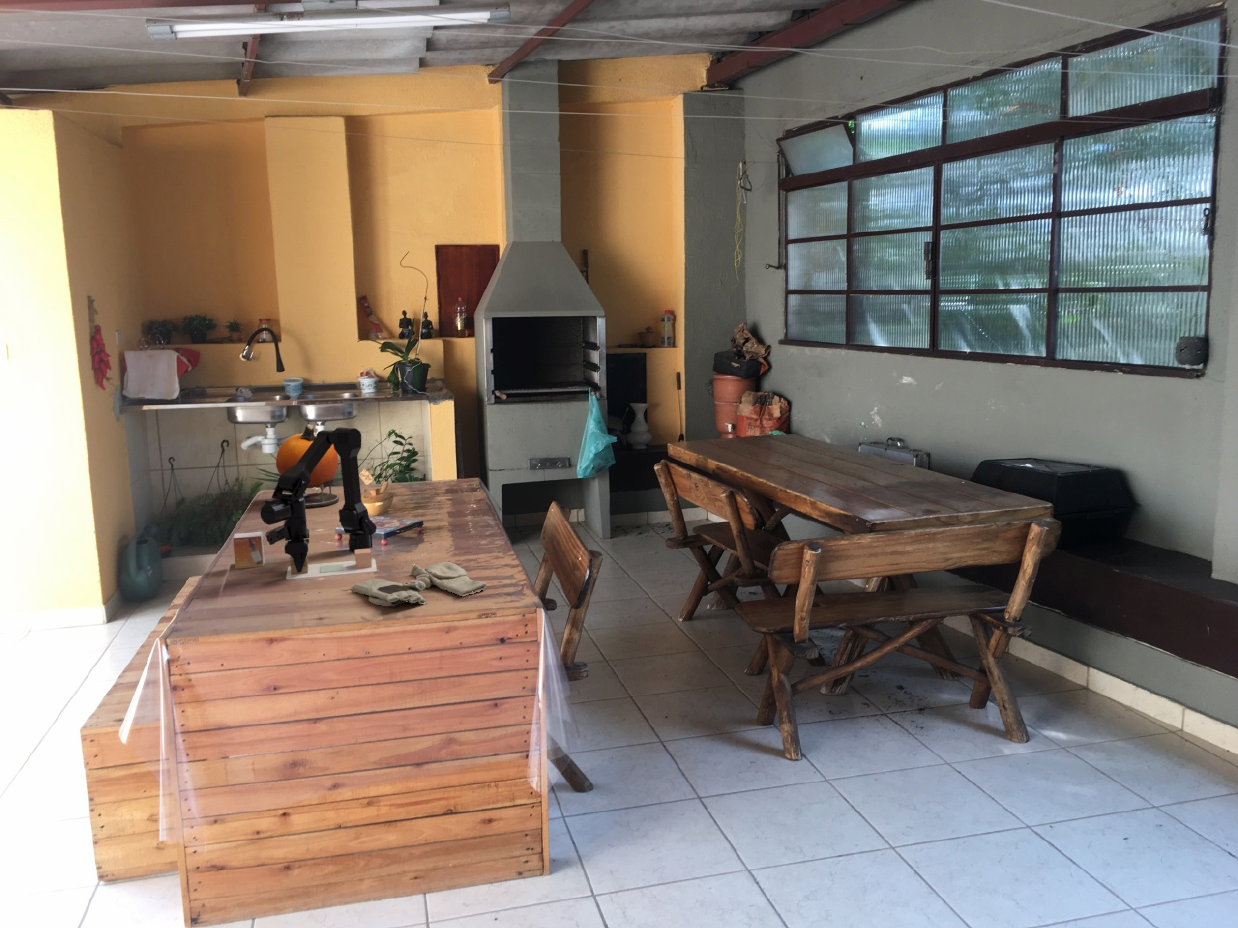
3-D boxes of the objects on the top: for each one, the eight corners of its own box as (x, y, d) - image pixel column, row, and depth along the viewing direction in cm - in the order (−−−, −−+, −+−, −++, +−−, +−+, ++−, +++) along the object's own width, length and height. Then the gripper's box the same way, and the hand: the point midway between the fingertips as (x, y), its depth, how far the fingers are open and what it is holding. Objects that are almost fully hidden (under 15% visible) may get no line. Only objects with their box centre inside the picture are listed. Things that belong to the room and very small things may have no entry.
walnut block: (292, 570, 299) (290, 555, 298) (308, 568, 300) (307, 553, 299) (291, 574, 294) (290, 559, 294) (307, 573, 296) (306, 558, 295)
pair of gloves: (388, 616, 263) (386, 596, 262) (349, 591, 284) (348, 573, 283) (491, 592, 281) (490, 574, 280) (448, 571, 301) (447, 553, 300)
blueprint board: (375, 562, 309) (375, 558, 309) (377, 575, 297) (376, 570, 296) (288, 570, 303) (288, 565, 302) (286, 583, 290) (286, 578, 290)
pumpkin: (274, 500, 393) (268, 423, 388) (333, 493, 404) (328, 417, 398) (285, 512, 374) (278, 430, 368) (347, 504, 385) (341, 425, 379)
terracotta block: (355, 564, 303) (354, 549, 302) (371, 563, 304) (370, 548, 304) (356, 568, 299) (354, 553, 298) (371, 567, 300) (370, 552, 299)
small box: (235, 572, 302) (232, 538, 299) (237, 567, 307) (234, 533, 305) (264, 570, 304) (261, 535, 302) (265, 564, 309) (262, 530, 307)
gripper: (267, 511, 301) (272, 562, 304) (263, 526, 283) (268, 581, 286) (307, 508, 304) (311, 559, 307) (305, 523, 286) (310, 577, 289)
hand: (299, 568), depth 297 cm, fingers open, 6 cm apart
